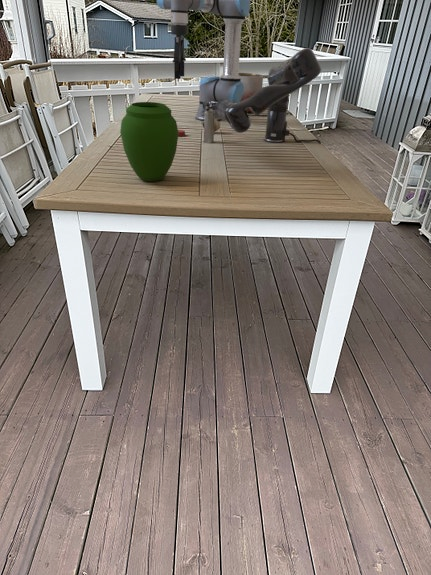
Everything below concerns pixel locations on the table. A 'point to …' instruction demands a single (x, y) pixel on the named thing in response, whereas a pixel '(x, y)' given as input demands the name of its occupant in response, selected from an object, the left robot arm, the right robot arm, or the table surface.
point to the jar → (209, 126)
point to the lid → (181, 133)
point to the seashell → (215, 125)
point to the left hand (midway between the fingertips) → (179, 77)
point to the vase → (149, 139)
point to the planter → (250, 85)
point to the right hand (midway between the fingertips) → (215, 103)
